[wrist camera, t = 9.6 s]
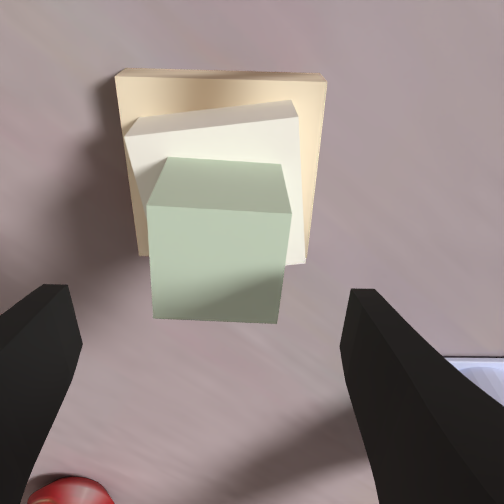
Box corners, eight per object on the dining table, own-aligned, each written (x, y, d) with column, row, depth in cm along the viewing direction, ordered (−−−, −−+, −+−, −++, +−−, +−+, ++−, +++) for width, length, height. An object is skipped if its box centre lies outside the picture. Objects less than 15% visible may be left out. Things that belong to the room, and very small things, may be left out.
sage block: (281, 163, 15) (292, 213, 12) (270, 258, 17) (277, 323, 14) (168, 156, 15) (146, 205, 11) (171, 252, 17) (153, 318, 14)
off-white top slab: (291, 99, 16) (298, 116, 14) (298, 233, 20) (305, 263, 17) (139, 117, 17) (123, 137, 14) (170, 246, 20) (162, 277, 18)
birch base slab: (317, 70, 18) (327, 81, 16) (300, 232, 22) (306, 258, 20) (129, 65, 18) (114, 76, 16) (148, 230, 22) (139, 256, 20)
